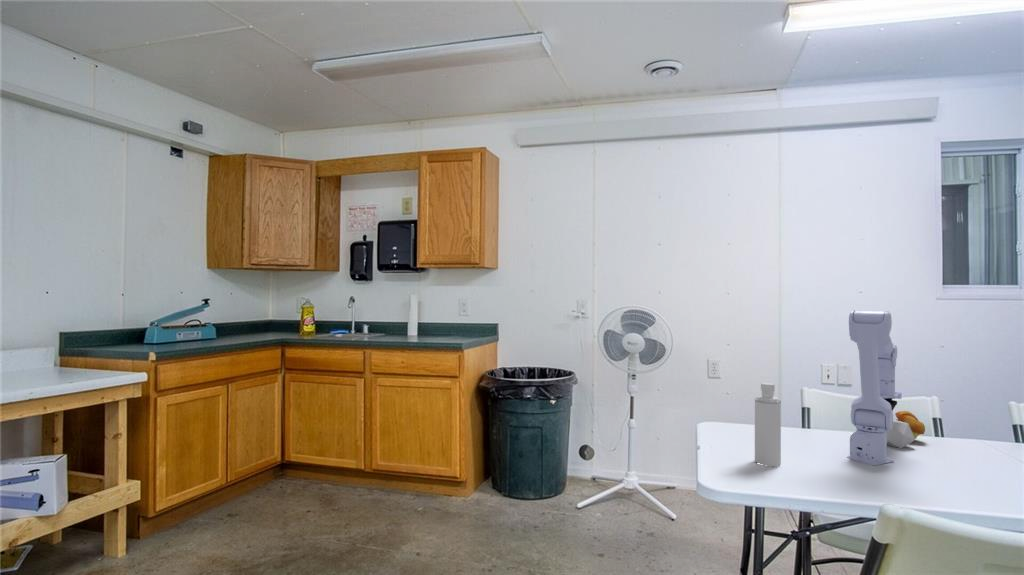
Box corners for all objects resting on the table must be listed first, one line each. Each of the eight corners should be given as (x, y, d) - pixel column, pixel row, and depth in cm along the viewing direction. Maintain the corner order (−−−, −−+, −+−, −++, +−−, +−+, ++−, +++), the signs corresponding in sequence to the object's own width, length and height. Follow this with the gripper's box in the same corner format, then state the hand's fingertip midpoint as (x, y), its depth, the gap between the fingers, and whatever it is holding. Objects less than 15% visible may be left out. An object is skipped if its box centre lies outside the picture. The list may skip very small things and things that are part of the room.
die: (920, 451, 167) (904, 447, 177) (918, 421, 169) (903, 419, 178) (889, 448, 169) (875, 445, 179) (887, 419, 171) (874, 417, 180)
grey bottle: (783, 470, 148) (783, 380, 149) (757, 469, 150) (758, 379, 150) (776, 463, 155) (777, 376, 155) (752, 461, 156) (752, 375, 157)
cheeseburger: (886, 427, 190) (902, 404, 187) (917, 448, 182) (935, 424, 179) (874, 429, 184) (890, 405, 181) (906, 450, 176) (924, 425, 173)
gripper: (882, 383, 167) (882, 427, 166) (911, 380, 172) (911, 423, 172) (859, 379, 173) (859, 422, 173) (888, 377, 179) (888, 418, 179)
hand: (884, 422), depth 173 cm, fingers closed
